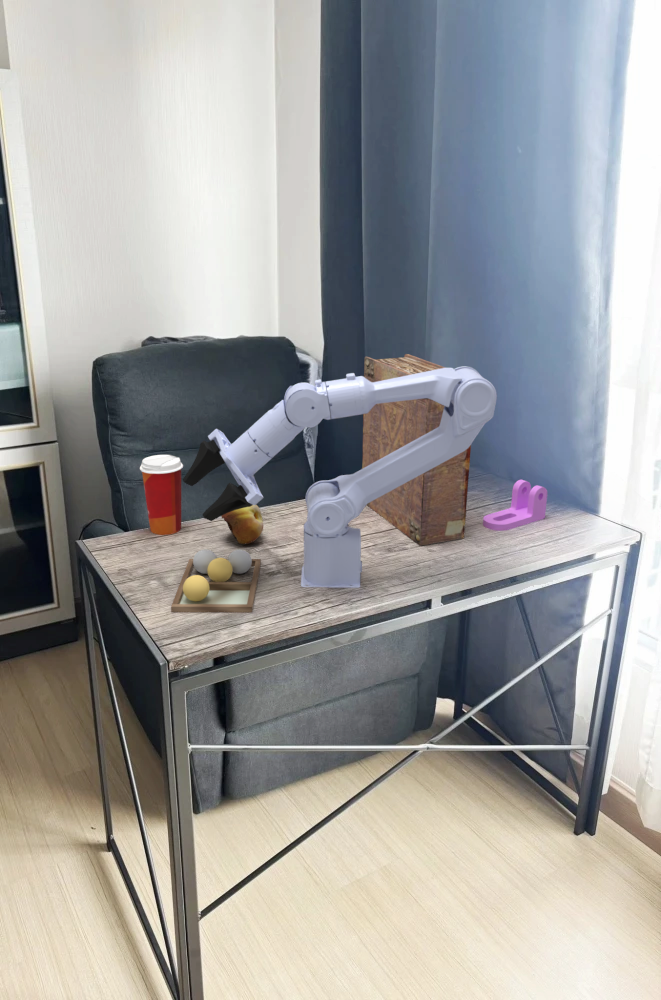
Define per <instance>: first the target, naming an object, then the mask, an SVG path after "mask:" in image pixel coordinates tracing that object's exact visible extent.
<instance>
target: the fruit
mask: <svg viewBox="0 0 661 1000" xmlns="http://www.w3.org/2000/svg"><path fill="white" fill-rule="evenodd" d="M222 519H223V521H224V522H226V524H227V526H228V528H229V530H230V532H231V534H232V536H233V537H234V538H235V539H236V542H237V544H239V545H249V544H251V543H254V542H255V541H256V540H257V539H258V538H259V537H260V536H261V535H262V533H263V531H264V520H263V515H262V512H261V509H260V507H259V506H258V505H257V504H256V505H252V506H250V507H245V508H241V509H237V510H234V511H231V512H229V513H226V514H224V515H222V516H221V520H222Z"/></svg>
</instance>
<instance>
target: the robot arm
mask: <svg viewBox="0 0 661 1000" xmlns="http://www.w3.org/2000/svg"><path fill="white" fill-rule="evenodd" d="M314 384H315V385H314ZM314 384H312V383H310V382H298V383H296V384H294V385H289V387H288V388H287V389H286V391H285V394H284V398H283V399H281V401H279V402H278V403H276V404H275V405H274V406H273V407H272V408H271V409H269V410H267V412H265V413H264V414H263V415H262V416H261V417H260V418H259V419H258V420H257V421H255V422H254V423H253V424H252V425H251V426H250V427H249V428H248V429H247V430H245V431H244V432H243V433H242V434H241V435H240V436H238V437H237V439H236V440H235V441H233V442H232V443H231V442H230V440H229V439H228V438H227V436H226V435H225V433H224V432H222V431H221V430H220V429H218V428H215V429H214V430H213V431H212V432H211V433H209V434H208V435H207V437H208V439H209V441H206V440H203V441H201V442H200V445H199V448H198V452H197V454H196V456H195V458H194V461H193V463H192V465H191V467H190V468H189V469H188V471H187V472H186V474H185V476H184V477H183V478H182V481H183V483H184V484H186V485H188V486H191V487H193V486H195V485H196V484H197V483H199V482H200V481H201V480H203V478H205V477H206V476H207V475H208V474H209V473H211V472H212V471H214V470H215V469H217V468H218V467H220V466H222V465H224V464H225V465H226V466H227V468H228V469H229V471H230V473H231V475H232V476H233V478H234V479H235V481H236V483H237V484H238V486H237V485H235V484H234V483H231V482H229V483H227V485H226V486H225V488H224V490H223V492H221V494H220V496H219V497H218V498H217V499H216V500H215V501H214V502H213V503H212V504H211V505H210V506H209V507H208V508H206V509H205V511H204V512H203V513H202V517H203V518H204V519H205V520H207V521H210V522H213V521H214V520H216V519H218V518H220V517H222V515H224V514H226V513H229V512H231V511H234V510H237V509H241V508H245V507H250V506H252V505H257V504H258V503H259V502H260V501H262V500H263V499H264V496H263V494H262V492H261V490H260V488H259V486H258V484H257V481H256V479H255V476H254V475H255V474H256V473H257V472H258V471H259V470H260V469H262V467H264V466H265V465H266V464H267V463H268V462H269V461H271V460H272V459H273V458H274V457H275V456H276V455H278V453H279V452H281V451H282V450H283V449H284V448H285V447H286V446H288V445H289V444H290V443H291V442H292V441H293V440H294V439H295V437H296V436H297V435H299V434H300V433H301V432H302V431H304V429H306V428H311V429H312V428H315V427H316V426H318V425H319V424H320V423H321V422H322V420H323V419H324V420H327V421H329V420H335V419H343V418H347V417H354V416H359V415H363V414H367V413H368V412H369V411H370V410H371V409H372V408H373V406H374V405H375V404H379V403H388V402H397V401H405V400H414V399H423V398H429V399H431V400H433V401H435V402H437V403H440V404H442V405H444V410H443V414H442V418H441V422H440V426H439V427H438V428H436V429H434V430H432V431H430V432H429V433H427V434H425V435H423V436H421V437H419V438H418V439H416V440H414V441H412V442H410V443H408V444H407V445H405V446H403V447H401V448H399V449H398V450H396V451H394V452H392V453H390V454H388V455H387V456H385V457H383V458H381V459H379V460H378V461H376V462H374V463H372V464H370V465H368V466H367V467H365V468H363V469H362V468H361V469H360V470H358V471H356V472H354V473H351V474H344V475H343V474H341V475H339V476H337V477H335V478H332V479H329V480H326V479H325V480H319V481H316V482H314V483H312V485H310V486H309V487H308V489H307V491H306V493H305V505H306V509H307V510H306V511H307V517H306V521H305V522H304V524H303V565H302V566H301V567H302V568H301V577H300V587H302V588H331V589H339V588H341V589H342V588H345V589H346V588H347V589H351V588H352V589H356V588H358V589H359V588H361V573H362V572H363V561H362V560H361V559H362V557H361V555H362V536H361V533H362V532H361V528H359V527H358V528H357V527H351V526H349V523H350V522H351V521H353V520H354V519H356V518H358V517H359V516H360V515H361V513H362V512H363V510H364V509H365V508H366V506H367V504H368V503H370V502H371V501H373V500H375V499H377V498H379V497H381V496H382V495H384V494H386V493H388V492H390V491H392V490H393V489H395V488H397V487H399V486H401V485H403V484H405V483H406V482H408V481H410V480H412V479H414V478H416V477H417V476H419V475H421V474H423V473H425V472H427V471H429V470H430V469H432V468H434V467H436V466H438V465H440V464H441V463H443V462H445V461H447V460H449V459H451V458H452V457H454V456H456V455H458V454H460V453H462V452H464V451H465V450H466V449H468V448H469V446H470V445H471V446H472V443H473V442H474V441H475V439H476V437H477V436H478V435H479V433H480V432H481V430H482V429H483V427H484V426H485V424H486V423H488V422H489V421H490V420H491V419H493V418H494V415H495V409H496V404H497V398H498V397H497V390H496V388H495V386H494V385H493V383H492V382H490V381H489V380H488V379H486V378H484V377H483V376H482V375H481V374H480V372H479V371H478V370H477V369H475V368H473V367H472V366H465V365H464V366H463V365H462V366H458V367H456V368H453V367H445V368H441V369H436V370H431V371H427V372H422V373H417V374H412V375H407V376H402V377H397V378H392V379H387V380H382V381H378V382H370V381H369V380H367V379H366V378H365V377H364V375H360V376H356V375H355V373H354V372H350V373H346V375H345V378H340V379H333V380H327V381H322V379H320V378H319V379H316V380H314Z"/></svg>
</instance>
